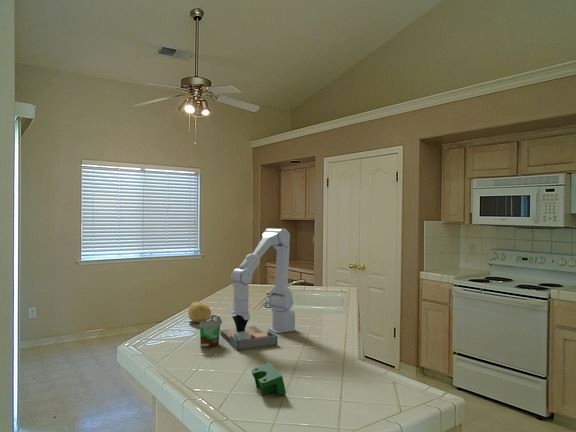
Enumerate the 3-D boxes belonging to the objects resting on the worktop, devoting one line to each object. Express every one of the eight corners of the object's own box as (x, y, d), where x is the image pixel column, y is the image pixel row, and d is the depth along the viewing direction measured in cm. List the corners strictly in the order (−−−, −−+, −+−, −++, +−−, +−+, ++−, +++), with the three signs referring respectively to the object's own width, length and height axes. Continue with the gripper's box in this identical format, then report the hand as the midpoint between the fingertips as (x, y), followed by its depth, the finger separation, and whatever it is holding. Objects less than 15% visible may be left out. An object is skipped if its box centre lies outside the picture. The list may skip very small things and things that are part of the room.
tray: (268, 339, 168) (268, 330, 168) (277, 345, 160) (277, 336, 160) (230, 344, 161) (230, 335, 161) (237, 350, 153) (237, 341, 153)
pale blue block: (246, 336, 164) (246, 331, 164) (250, 344, 160) (251, 338, 159) (233, 338, 162) (234, 332, 161) (237, 345, 158) (238, 339, 157)
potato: (188, 326, 186) (188, 305, 186) (188, 318, 200) (188, 298, 200) (211, 325, 188) (211, 304, 188) (210, 318, 202) (210, 298, 202)
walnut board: (254, 330, 180) (254, 326, 180) (267, 339, 168) (267, 334, 168) (220, 334, 174) (220, 329, 174) (231, 344, 161) (231, 338, 161)
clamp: (259, 401, 122) (249, 369, 124) (278, 393, 124) (268, 362, 126) (267, 401, 111) (256, 367, 114) (287, 393, 113) (276, 359, 116)
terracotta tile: (263, 338, 167) (263, 332, 167) (268, 342, 162) (268, 335, 162) (251, 340, 165) (251, 333, 165) (256, 343, 160) (256, 337, 160)
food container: (214, 350, 154) (215, 323, 154) (198, 349, 155) (199, 322, 155) (226, 340, 166) (226, 315, 166) (211, 339, 167) (211, 314, 167)
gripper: (225, 297, 168) (224, 331, 168) (237, 303, 155) (237, 340, 155) (242, 295, 171) (241, 329, 171) (255, 302, 158) (254, 338, 158)
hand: (240, 334), depth 164 cm, fingers closed
